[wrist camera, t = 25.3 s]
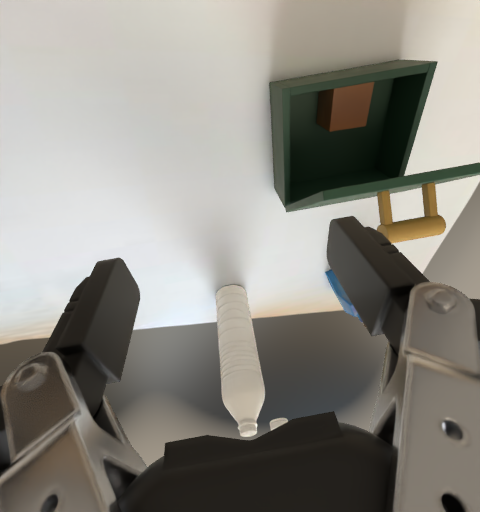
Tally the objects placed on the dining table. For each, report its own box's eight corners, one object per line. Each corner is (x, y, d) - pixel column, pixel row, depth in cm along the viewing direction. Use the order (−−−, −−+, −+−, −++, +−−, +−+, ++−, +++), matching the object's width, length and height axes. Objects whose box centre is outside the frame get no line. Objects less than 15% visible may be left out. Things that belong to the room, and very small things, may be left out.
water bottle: (218, 307, 55) (228, 446, 36) (212, 287, 51) (220, 432, 32) (258, 300, 55) (289, 435, 36) (255, 279, 51) (289, 419, 32)
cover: (322, 190, 20) (332, 258, 20) (524, 154, 20) (527, 223, 20) (285, 206, 34) (291, 246, 34) (402, 185, 34) (406, 225, 34)
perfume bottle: (360, 277, 54) (392, 324, 45) (332, 289, 56) (359, 336, 46) (354, 259, 51) (388, 305, 41) (325, 272, 52) (352, 320, 43)
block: (319, 82, 30) (334, 87, 27) (355, 77, 30) (374, 81, 27) (316, 123, 33) (329, 131, 30) (349, 118, 33) (366, 126, 30)
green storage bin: (269, 82, 30) (282, 88, 25) (400, 59, 30) (437, 61, 25) (274, 188, 39) (284, 207, 34) (376, 170, 39) (400, 187, 34)
